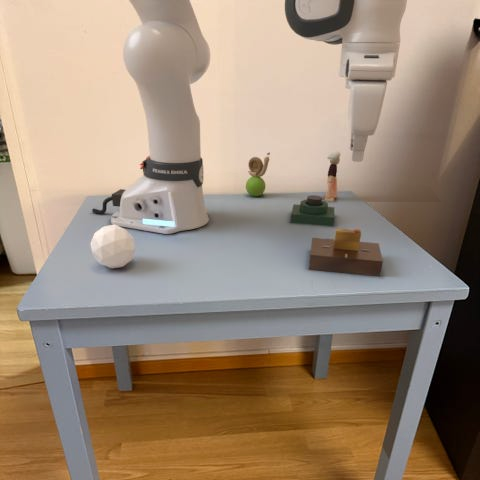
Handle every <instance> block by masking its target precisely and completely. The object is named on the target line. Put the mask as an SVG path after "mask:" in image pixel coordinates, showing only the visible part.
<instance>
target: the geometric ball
mask: <svg viewBox="0 0 480 480" xmlns="http://www.w3.org/2000/svg"><path fill="white" fill-rule="evenodd" d="M89 244H90V248H91V252H92V253H91V254H92V256H93V257H94V259H95V260H96V261H97V262H98V263H99V265H102V266H103V267H107V268H110V269H111V270H112V269H119V268H123V267H125V266H126V265H127V264H129V263H130V262H131V261H132V260H133V257H134V256H135V252H136V243H135V238H134V237H133V235H131V233H130V232H129V231H128V230H127V229H126V228H125V227H122V226H117V225H112V224H110V225H104V226H102V227H101V228H100V229H98V230H97V231H95V232H94V234H93V235H92V239H91V241H90V243H89Z"/></svg>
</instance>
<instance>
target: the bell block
mask: <svg viewBox="0 0 480 480" xmlns="http://www.w3.org/2000/svg"><path fill="white" fill-rule="evenodd" d="M290 223H291V224H300V225H312V226H313V225H314V226H326V227H334V223H335V207H334V206H329V203H328V201H325V200H322V205H321V206H311V205H307V199H303V200H301V201H300V203H299V204H295V203H294V204H293V206H292V210H291V214H290Z"/></svg>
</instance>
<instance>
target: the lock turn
mask: <svg viewBox="0 0 480 480" xmlns="http://www.w3.org/2000/svg"><path fill="white" fill-rule="evenodd" d="M361 236H362V230H361V229H357V228H355V229H342V228H336V229H335V233H334V249H342V250H354V251H358V249H359V243H360V242H361V238H362V237H361Z"/></svg>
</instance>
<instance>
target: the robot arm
mask: <svg viewBox="0 0 480 480" xmlns="http://www.w3.org/2000/svg"><path fill="white" fill-rule="evenodd" d="M128 1H129V3H130V5H132V7H133V9H134V10H135V12H136V14H137V16H138V18H139V20H140V22H141V24H140V25H139V26H137V27H135V28H133V29H132V30H130V32H129V33H128V35H127V36H126V37H125V40H124V44H123V49H122V55H123V56H122V57H123V62H124V66H125V68H126V71H127V72H128V74H129V75H130V76H131V78H132V80H133V81H134V82H135V84H136V87H137V90H138V93H139V96H140V100H141V103H142V106H143V110H144V115H145V120H146V126H147V139H148V147H149V148H148V150H149V155H147V156H146V157H145V159H144V160H142V161H141V163H140V164H139V169H140V170H142V172H143V174H142V175H141V176H140V177H139V178H138V179H137V180H135V181H134V182H133V183H132V184H130V185H129V186H128V187H127V188H126V189H122V188H120V189H119V190H117V191H115V192H113V193H111V196H108V197H106V198H105V199H104V200H102V201H103V202H102V209H98V208H92V210H91V211H92V213H94V214H98V215H103V214H105V213H106V212H107V206H108V203H110V202H112V206H113V207H119V209H118V210H116V211H115V212H114V213H112V215H111V216H110V223H111V225H117V226H119V227H121V228H128V229H134V230H139V231H140V230H141V231H147V232H150V233H151V232H152V233H158V234H164V235H171V234H174V233H175V234H176V233H178V232H183V231H189V230H194V229H198V228H201V227H204V226H205V225H207V224H208V223H209V221H210V218H209V216H208V212H207V208H206V204H205V197H204V192H203V185H204V180H205V179H204V178H205V177H204V162H203V157H201V156H202V155H201V120H200V117H199V115H198V113H197V111H196V108H195V104H194V99H193V93H192V89H191V85H192V84H195V83H196V82H198V81H199V80H200V79H201V78H202V77H203V76H204V75H205V74H206V73H207V71H208V69H209V67H210V63H211V49H210V47H209V43H208V42H207V40H206V38H205V36H204V35H203V33H202V30H201V28H200V24H199V22H198V19H197V16H196V14H195V11H194V8H193V6H192V4H191V0H128ZM407 2H408V0H284V14H285V18H286V22H287V24H288V26H289V28H290V29H291V30H292V31H293V32H294V33H295V34H296V35H297V36H300V37H301V38H303V39H305V40H310V41H316V42H323V43H326V44H328V45H335V46H336V45H337V46H338V45H341V49H340V57H339V67H338V77H341V78H344V79H345V84H344V88H345V89H348V90H350V92H349V100H348V109H347V121H348V125H349V129H350V142H349V149H350V151H352V152H351V160H352V162H356V163H361V162H363V160H364V156H365V150H366V146H367V144H368V137H369V136H374V135H375V133H376V131H377V128H378V124H379V121H380V117H381V114H382V109H383V106H384V101H385V96H386V92H387V85H388V81H392V80H393V78H395V76H396V72H397V64H398V58H399V53H400V45H401V23H402V19H403V17H404V14H405V12H406V8H407Z"/></svg>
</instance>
